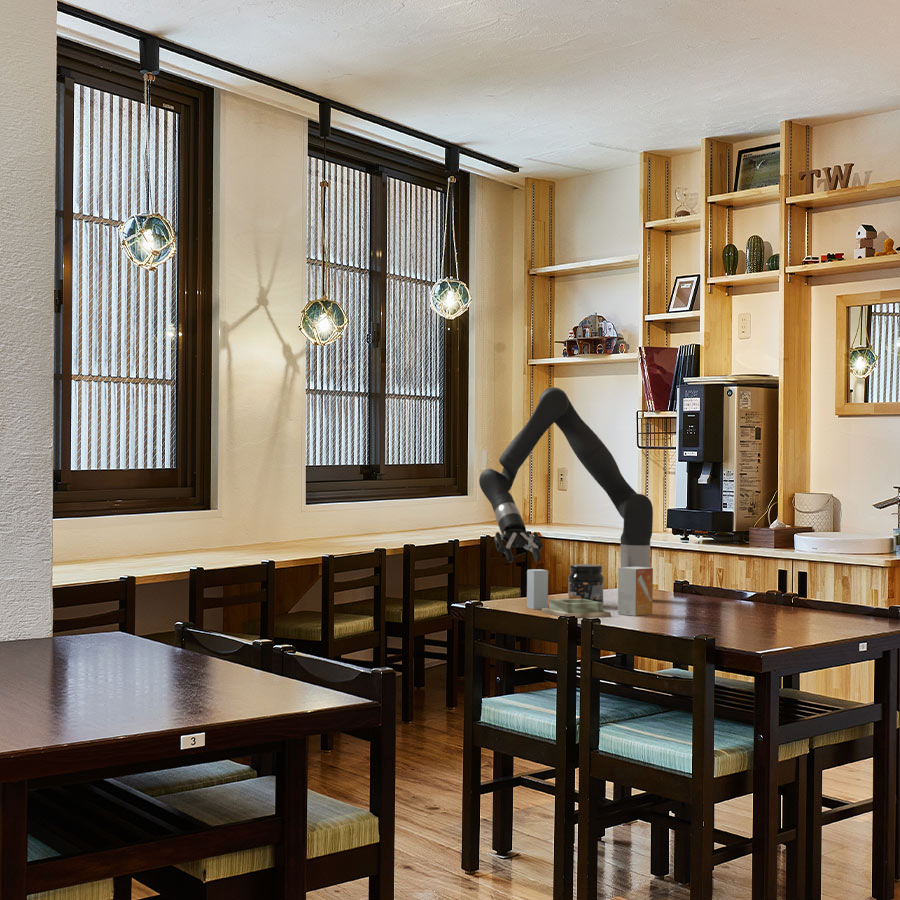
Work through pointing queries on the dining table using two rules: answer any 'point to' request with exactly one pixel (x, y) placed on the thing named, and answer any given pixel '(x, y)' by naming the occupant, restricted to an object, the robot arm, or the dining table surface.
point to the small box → (635, 591)
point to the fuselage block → (537, 589)
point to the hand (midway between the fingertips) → (525, 560)
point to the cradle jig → (576, 608)
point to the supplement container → (585, 582)
